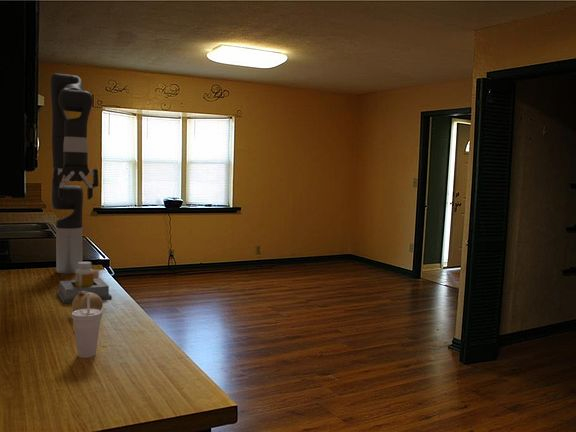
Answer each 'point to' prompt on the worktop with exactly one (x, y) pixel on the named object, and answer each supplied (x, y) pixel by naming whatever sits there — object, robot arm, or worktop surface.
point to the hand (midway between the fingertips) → (75, 199)
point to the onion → (81, 301)
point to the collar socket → (70, 291)
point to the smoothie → (86, 329)
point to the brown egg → (96, 274)
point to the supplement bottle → (84, 275)
